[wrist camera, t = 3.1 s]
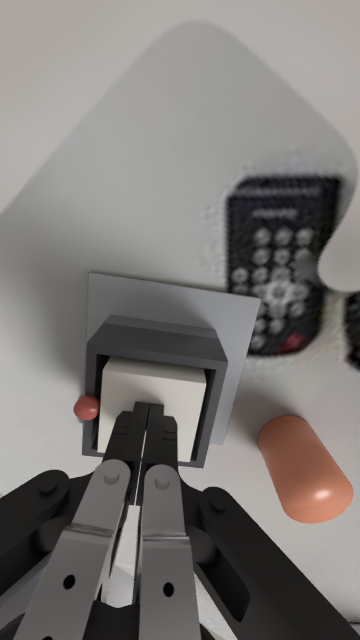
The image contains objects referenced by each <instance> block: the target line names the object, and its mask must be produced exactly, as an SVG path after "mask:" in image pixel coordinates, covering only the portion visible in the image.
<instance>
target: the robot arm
mask: <svg viewBox="0 0 360 640" xmlns="http://www.w3.org/2000/svg"><path fill="white" fill-rule="evenodd" d="M148 409H149V403H145V402H137V401H135V404H134V408H133V412H131V411H122V412H121V413H120V414H119V415H118V416H117V417H116V420H115V423H114V427H113V429H112V433H111V436H110V439H109V442H108V445H107V448H106V451H105V454H104V457H103V460H102V462H101V464H100V465H99V466H97V468H96V469H95V471H93V472H92V473H90V474H88V475H85V476H81V477H76V478H71V479H69V477H68V475H67V474H66V473H65V472H63V471H60V470H49V471H45V472H43V473H41V474H39V475H37V476H36V477H34V478H32V479H31V480H29V481H27V482H26V483H24V484H23V485H21V486H19V487H18V488H16V489H15V490H13V491H11V492H10V493H8V494H7V495H5V496H3V497H2V498H0V607H1V606H2V605H4V604H5V603H6V602H7V601H8V600H9V599H10V598H11V597H12V596H13V595H14V594H15V593H17V592H18V591H19V590H20V589H21V588H22V587H23V586H24V585H25V584H26V583H28V582H29V581H30V580H31V579H32V578H33V577H34V576H35V575H36V574H38V572H40V571H41V570H42V569H43V568H44V567H45V566H46V565H47V566H46V569H45V571H44V573H43V575H42V577H41V580H40V582H39V584H38V586H37V589H36V591H35V593H34V595H33V597H32V599H31V602H30V604H29V606H28V608H27V610H26V612H25V613H24V614H21V615H20V616H18V617H17V618H15V619H14V620H13V621H11V622H10V623H8V624H7V625H6V626H5V627H4V628H2V629H1V630H0V640H215V639H214V638H213V636H212V635H211V634H210V633H209V631H208V630H207V629H206V628H205V627H204V626H203V625H202V624H200V623H199V615H198V606H197V597H196V588H195V579H194V572H195V573H196V575H197V576H198V578H199V580H200V581H201V583H202V584H203V586H204V587H205V589H206V591H207V592H208V594H209V595H210V597H211V598H212V600H213V602H214V603H215V605H216V606H217V608H218V609H219V611H220V613H221V614H222V616H223V617H224V619H225V620H226V622H227V624H228V625H229V627H230V628H231V630H232V631H233V633H234V635H235V636H236V638H237V639H238V640H360V635H359V634H358V633H357V632H356V631H355V630H354V629H353V627H352V626H351V625H350V624H349V623H348V622H347V621H346V620H345V619H344V618H343V617H342V615H341V614H340V613H339V612H338V611H337V610H336V609H335V608H334V607H333V606H332V605H331V604H330V602H329V601H328V600H327V599H326V598H325V597H324V596H323V595H322V594H321V593H320V592H319V591H318V589H317V588H316V587H315V586H314V585H313V584H312V583H311V582H310V581H309V580H308V579H307V578H306V576H305V575H304V574H303V573H302V572H301V571H300V570H299V569H298V568H297V567H296V566H295V564H294V563H293V562H292V561H291V560H290V559H289V558H288V557H287V556H286V555H285V554H284V553H283V551H282V550H281V549H280V548H279V547H278V546H277V545H276V544H275V543H274V542H273V541H272V540H271V538H270V537H269V536H268V535H267V534H266V533H265V532H264V531H263V530H262V529H261V528H260V527H259V525H258V524H257V523H256V522H255V521H254V520H253V519H252V518H251V517H250V516H249V515H248V513H247V512H246V511H245V510H244V509H243V508H242V507H241V506H240V505H239V504H238V503H237V502H236V500H235V499H234V498H233V497H232V496H231V495H230V494H229V493H228V492H227V491H225V490H223V489H222V488H219V487H208V488H206V489H205V490H203V491H202V492H201V491H199V490H197V489H194V488H192V487H190V486H189V485H187V484H186V483H185V482H184V481H183V480H182V479H181V477H180V475H179V472H178V434H177V433H178V424H177V422H176V420H175V418H174V417H173V416H166V415H164V405H162V404H154V403H150V410H149V416H148ZM147 416H148V423H147ZM146 424H147V430H146ZM145 431H146V436H145ZM144 437H145V443H144ZM143 444H144V449H143ZM142 450H143V456H142ZM141 457H142V463H141ZM140 463H141V470H140ZM139 470H140V477H139V484H138V491H137V499H136V505H137V506H140V512H139V520H138V527H137V540H136V556H135V571H134V587H133V598H132V604H131V605H128V606H124V607H121V608H115V607H112V606H110V605H108V604H106V599H107V594H108V589H109V584H110V580H111V576H112V572H113V568H114V564H115V560H116V556H117V552H118V548H119V544H120V540H121V536H122V532H123V528H124V523H125V521H126V518H127V513H128V507H129V505H134V502H135V495H136V489H137V482H138V476H139Z"/></svg>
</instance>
